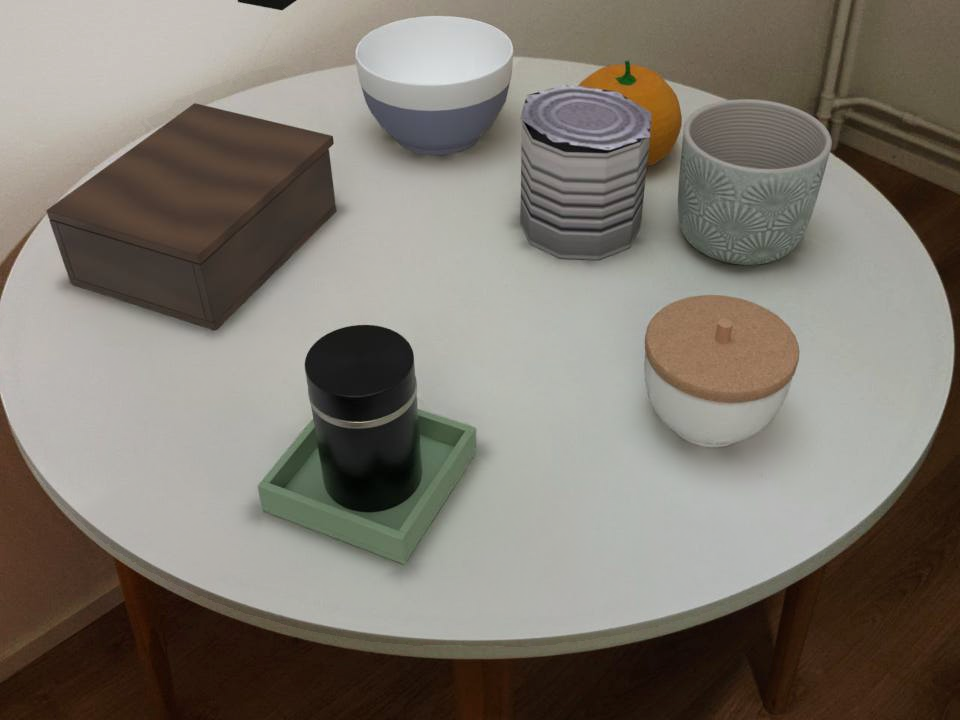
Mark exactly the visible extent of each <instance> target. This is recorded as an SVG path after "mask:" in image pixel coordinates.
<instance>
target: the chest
mask: <svg viewBox="0 0 960 720" xmlns="http://www.w3.org/2000/svg"><path fill="white" fill-rule="evenodd" d="M330 155H331V153H330V148H329V149H328V150H327V151H326V152H325V153H323V154H322V155H321V156H320V157H319V158H318V159H317V160H316V161H315V162H313V163H312V164H311V165H310V166H309V167H308V168H307V169H306V170H304V171H303V172H302V173H301V174H300V175H299V176H298V177H297V178H296V179H294V180H293V181H292V182H291V183H290V184H289V185H288V186H287V187H286V188H284V189H283V190H282V191H281V192H280V193H279V194H278V195H277V196H276V197H274V198H273V199H272V200H271V201H270V202H269V203H268V204H267V205H265V206H264V207H263V208H262V209H261V210H260V211H259V212H258V213H257V214H255V215H254V216H253V217H252V218H251V219H250V220H249V221H248V222H247V223H245V224H244V225H243V226H242V227H241V228H240V229H239V230H238V231H237V232H235V233H234V234H233V235H232V236H231V237H230V238H229V239H228V240H227V241H225V242H224V243H223V244H222V245H221V246H220V247H219V248H218V249H216V250H215V251H214V252H213V253H212V254H211V255H210V256H209V257H208V258H206V259H205V260H204V261H203V262H202V263H201V264H199V263H195V262H192V261H189V260H185V259H182V258H179V257H175V256H172V255H169V254H165V253H162V252H158V251H155V250H152V249H148V248H145V247H142V246H138V245H135V244H132V243H128V242H125V241H122V240H118V239H115V238H111V237H108V236H105V235H101V234H98V233H95V232H91V231H88V230H85V229H81V228H78V227H74V226H71V225H68V224H64V223H61V222H58V221H54V220H51V219H48V221H49V224H50V227H51V230H52V233H53V236H54V238H55V241H56V245H57V247H58V250H59V253H60V257H61V259H62V262H63V265H64V269H65V271H66V274H67V277H68V280H69V283H70V285H72V286H73V285H74V286H76V287H80V288H82V289H86V290H89V291H91V292H94V293H98V294H101V295H105V296H107V297H110V298H113V299H116V300H120V301H123V302H126V303H130V304H133V305H136V306H138V307H142V308H145V309H148V310H151V311H154V312H157V313H160V314H163V315H167V316H170V317H174V318H175V319H179V320H182V321H185V322H188V323H192V324H194V325H198V326H201V327H204V328H208V329H211V330H214V331H217V330H218V329H219V328H220V327H221V326H222V325H223V324H224V323H225V322H226V321H227V320H228V319H229V318H230V317H231V316H233V314H234V313H235V312H237V310H238V309H239V308H240V307H241V306H242V305H243V304H244V303H245V302H247V300H248V299H249V298H250V297H251V296H253V294H254V293H255V292H256V291H257V290H259V288H260V287H262V285H263V284H264V283H266V281H267V280H268V279H269V278H270V277H271V276H272V275H274V274H275V273H276V272H277V270H279V269H280V268H281V267H282V266H283V265H284V264H285V263H286V261H288V260H289V259H290V258H291V257H292V256H293V255H294V254H295V253H296V252H297V251H298V250H299V249H300V248H301V247H302V246H303V245H304V244H305V243H306V242H307V241H308V240H309V239H310V238H311V237H312V236H313V235H314V234H315V233H316V232H317V231H318V230H319V229H320V228H321V227H322V226H324V224H325V223H326V222H327V221H329V220H330V218H331V217H333V215H334V214H336V212H337V205H336V196H335V187H334V179H333V172H332V161H331V156H330Z"/></svg>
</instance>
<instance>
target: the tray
mask: <svg viewBox="0 0 960 720" xmlns="http://www.w3.org/2000/svg"><path fill="white" fill-rule="evenodd" d="M418 420H419V434H420V448H421V462H422V478H421V481H420V484H419V486H418V488H417V490H416V491H415V492H414V493H413V495H412V496H411V497H410V498H408V499H407V500H406V501H405V502H403V503H401V504H400V505H398V506H396V507H393V508H391V509H388V510H384V511H379V512H359V511H354V510H350V509H347V508H345V507H343V506H341V505H339V504H338V503H336V502H335V501H334V500H333V499H332V498H331V497H330V496H329V494H328V493H327V491H326V489H325V486H324V481H323V475H322V469H321V463H320V457H319V451H318V445H317V439H316V433H315V427H314V421H313V418H312V419H311V420H310V421H309V423H308V424H307V425H306V427H305V428H304V429H303V430H302V431H301V433H300V434H299V435H298V436H297V437H296V438H295V440H294V441H293V442H292V444H290V445H289V447H288V448H287V449H286V450H285V451H284V453H283V454H282V456H281V457H280V458H279V459H278V461H277V462H275V464H274V465H273V467H271V469H270V470H269V471H268V472H267V474H266V475H265V476H264V477H263V478H262V480H261V481H260V482H259V484H257V490H258V495H259V499H260V500H259V501H260V503H261V508H262V511H263V512H265V513H268V514H271V515H274V516H275V517H279V518H282V519H284V520H286V521H289V522H291V523H295V524H297V525H300V526H302V527H305V528H308V529H310V530H312V531H315V532H317V533H321V534H323V535H326V536H328V537H331V538H333V539H336V540H339V541H341V542H345V543H346V544H349V545H352V546H355V547H357V548H360V549H363V550H365V551H368V552H371V553H373V554H376V555H378V556H381V557H384V558H386V559H389V560H391V561H394V562H397V563H399V564H402V565H405V564H406V563H407V562H408V560H409V558H410V557H411V555H412V553H413V552H414V551H415V549H416V547H417V546H418V544H419V543H420V541H421V540H422V538H423V536H424V535H425V533H426V532H427V530H428V529H429V528H430V525H431V524H432V523H433V521H434V519H435V518H436V516H437V515H438V514H439V511H440V510H441V508H442V507H443V506H444V503H445V502H446V501H447V499H448V498H449V496H450V494H451V492H452V491H453V490H454V488H455V486H456V485H457V484H458V483H459V481H460V479H461V478H462V476H463V474H464V473H465V471H466V470H467V468H468V467H469V465H470V463H471V462H472V461H473V459H474V457H475V456H476V454H477V427H475V426H472V425H469V424H466V423H462V422H459V421H456V420H453V419H450V418H447V417H444V416H441V415H438V414H435V413H432V412H429V411H425V410H423V409H420V408H418Z"/></svg>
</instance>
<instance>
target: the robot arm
mask: <svg viewBox="0 0 960 720" xmlns="http://www.w3.org/2000/svg"><path fill="white" fill-rule="evenodd" d="M297 1H298V0H237V3H240V4H246V5H251V6H256V7H262V8H266V9H272V10H278V11H283V10H285V9H287V8H288V7H289V6H291V5H292V4H294V3H295V2H297Z"/></svg>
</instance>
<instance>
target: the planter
mask: <svg viewBox="0 0 960 720" xmlns="http://www.w3.org/2000/svg"><path fill="white" fill-rule="evenodd" d="M682 133H683V134H682V140H681V141H682V142H681V143H682V145H681V151H680V163H679V175H678V186H677V187H678V188H677V216H678V223H679V227H680V229H681V232H682V234H683V236H684V237H685V238H686V241H688V243H689V244H690V245H691V246H692V247H693V248H695V250H697V251H699V252H700V253H702V254H703V255H705V256H707V257H709V258H711V259H714V260H717V261H719V262H723V263H727V264H731V265H740V266H755V265H756V266H757V265H762V264H768V263H771V262H774V261H777V260H779V259H782V258H783V257H786V256H787V255H788V254H790V253H791V252H792V251H794V249H795V248H796V247H797V246H798V245H799V244H800V242H801V240H802V239H803V237H804V235H805V234H806V231H807V229H808V226H809V225H810V221H811V219H812V216H813V213H814V209H815V206H816V203H817V200H818V197H819V194H820V190H821V186H822V182H823V179H824V175H825V172H826V169H827V164H828V161H829V156H830V153H831V150H832V144H833V141H832V136H831V134H830V131H829V130H828V129H827V127H826V126H825V125H824V124H823V123H822V122H821V121H820V120H818V119H817V118H816V117H814V116H813V115H811V114H810V113H808V112H806V111H804V110H801V109H800V108H797V107H794V106H791V105H788V104H784V103H782V102H781V103H780V102H776V101H770V100H765V99H754V98H746V99H745V98H739V99H738V98H736V99H728V100H727V99H726V100H722V101H717V102H713V103H710V104H707V105H705V106H702V107H700V108H698V109H697V110H696V111H694V112H693V113H692V114H690V115H689V117H688V118H687V119H686V120H685V123H684V125H683V131H682Z"/></svg>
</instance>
